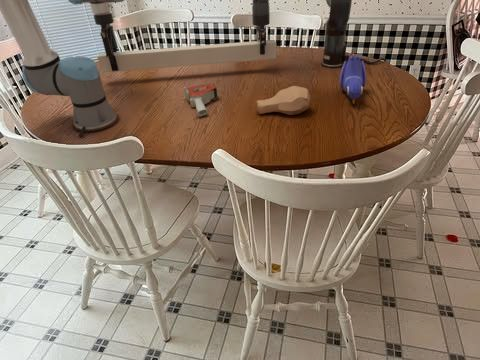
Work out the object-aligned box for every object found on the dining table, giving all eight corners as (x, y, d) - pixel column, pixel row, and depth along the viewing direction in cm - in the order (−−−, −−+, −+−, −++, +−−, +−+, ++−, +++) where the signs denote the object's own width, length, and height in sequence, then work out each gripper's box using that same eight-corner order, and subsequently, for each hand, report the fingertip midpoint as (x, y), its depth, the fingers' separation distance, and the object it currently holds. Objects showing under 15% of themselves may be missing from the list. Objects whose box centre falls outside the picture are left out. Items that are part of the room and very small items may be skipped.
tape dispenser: (202, 122, 132) (232, 99, 144) (201, 109, 128) (231, 87, 141) (166, 111, 139) (197, 89, 152) (164, 98, 136) (196, 78, 148)
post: (101, 72, 160) (97, 56, 156) (104, 69, 164) (99, 53, 160) (276, 58, 164) (276, 42, 160) (274, 55, 168) (274, 39, 164)
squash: (314, 116, 128) (313, 95, 122) (259, 125, 130) (256, 105, 124) (308, 99, 136) (307, 78, 129) (257, 108, 138) (253, 88, 131)
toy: (338, 94, 152) (340, 108, 129) (340, 53, 145) (343, 60, 123) (362, 94, 149) (368, 108, 127) (365, 52, 143) (373, 58, 120)
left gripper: (106, 17, 142) (121, 74, 155) (115, 8, 156) (128, 61, 170) (87, 18, 141) (103, 75, 155) (98, 9, 156) (112, 62, 170)
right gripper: (272, 15, 149) (272, 56, 159) (266, 8, 160) (267, 47, 170) (254, 16, 148) (255, 57, 158) (250, 10, 160) (251, 48, 170)
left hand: (116, 68), depth 162 cm, fingers closed on post, 5 cm apart
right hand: (261, 52), depth 164 cm, fingers closed on post, 5 cm apart
